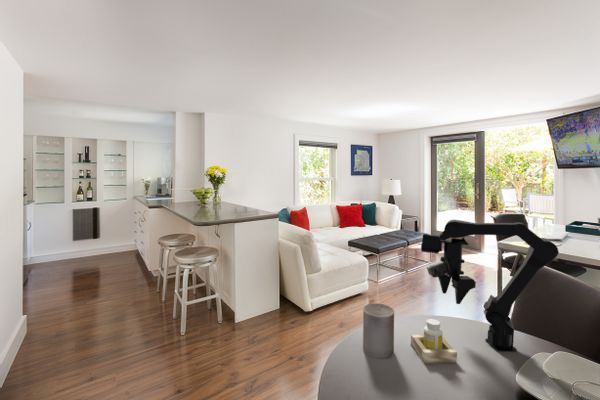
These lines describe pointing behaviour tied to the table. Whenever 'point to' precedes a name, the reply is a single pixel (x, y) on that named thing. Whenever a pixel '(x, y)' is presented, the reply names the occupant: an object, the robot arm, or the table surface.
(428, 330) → the supplement bottle
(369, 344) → the pillar candle
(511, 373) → the table surface
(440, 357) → the square holder
